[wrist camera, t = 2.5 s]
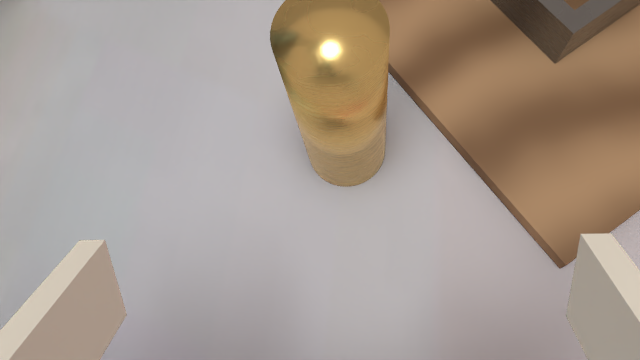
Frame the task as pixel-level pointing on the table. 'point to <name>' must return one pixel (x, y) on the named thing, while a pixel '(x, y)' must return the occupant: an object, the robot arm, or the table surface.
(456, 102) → the mounting board
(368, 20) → the cylinder
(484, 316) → the table surface
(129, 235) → the table surface
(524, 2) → the socket housing
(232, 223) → the table surface
